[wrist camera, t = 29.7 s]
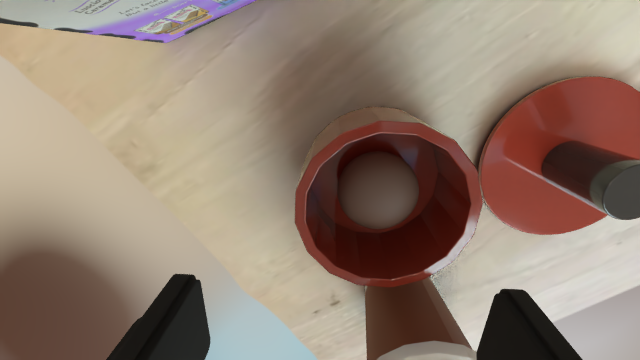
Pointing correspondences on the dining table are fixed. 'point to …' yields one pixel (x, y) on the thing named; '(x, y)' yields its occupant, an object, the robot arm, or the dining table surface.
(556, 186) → the lid
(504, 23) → the dining table surface
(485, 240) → the dining table surface
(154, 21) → the candy box
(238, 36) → the dining table surface
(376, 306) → the coffee cup
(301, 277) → the dining table surface
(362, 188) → the egg
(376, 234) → the pot
